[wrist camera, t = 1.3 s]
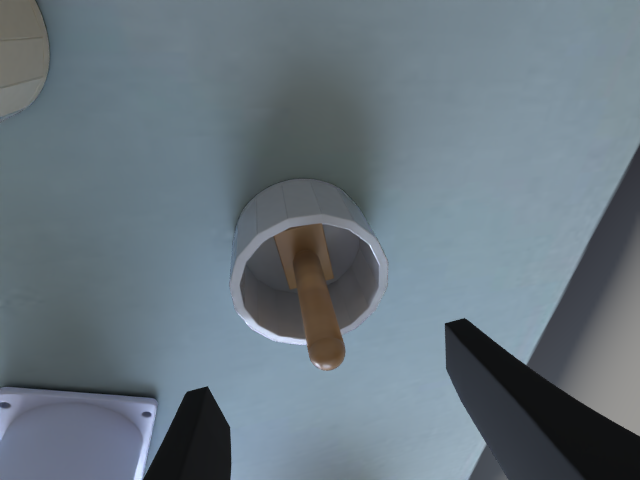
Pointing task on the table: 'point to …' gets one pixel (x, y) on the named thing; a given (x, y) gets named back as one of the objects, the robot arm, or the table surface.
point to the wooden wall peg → (312, 291)
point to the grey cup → (267, 271)
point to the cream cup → (21, 55)
